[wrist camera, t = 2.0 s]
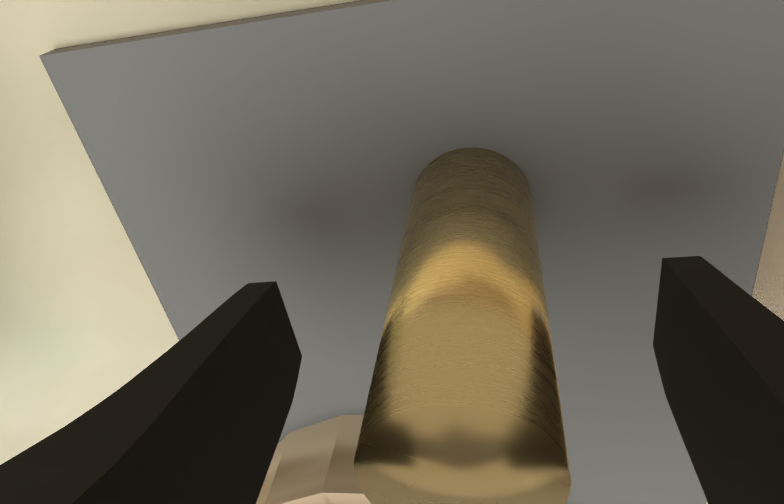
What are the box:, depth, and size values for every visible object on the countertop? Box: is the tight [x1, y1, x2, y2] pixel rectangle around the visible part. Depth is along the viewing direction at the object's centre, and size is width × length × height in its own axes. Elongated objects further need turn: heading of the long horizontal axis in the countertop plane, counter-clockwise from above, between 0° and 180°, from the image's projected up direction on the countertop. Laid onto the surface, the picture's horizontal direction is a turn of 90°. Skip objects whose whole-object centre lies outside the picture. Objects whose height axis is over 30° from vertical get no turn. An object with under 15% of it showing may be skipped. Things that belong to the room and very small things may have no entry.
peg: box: [354, 147, 571, 504], centre depth 11 cm, size 3×3×8 cm
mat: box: [40, 0, 784, 504], centre depth 19 cm, size 17×26×1 cm, turn 9°
